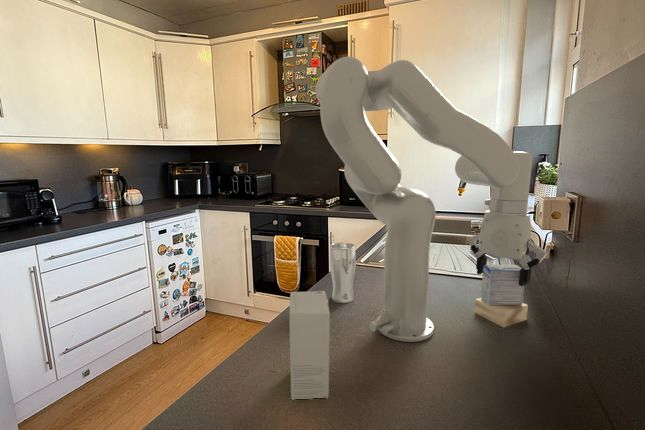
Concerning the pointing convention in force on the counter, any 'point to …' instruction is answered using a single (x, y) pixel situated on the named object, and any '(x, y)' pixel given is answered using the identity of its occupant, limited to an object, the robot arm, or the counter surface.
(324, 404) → the counter surface
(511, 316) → the oak block
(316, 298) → the skincare box
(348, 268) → the beer glass
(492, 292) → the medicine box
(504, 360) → the counter surface
